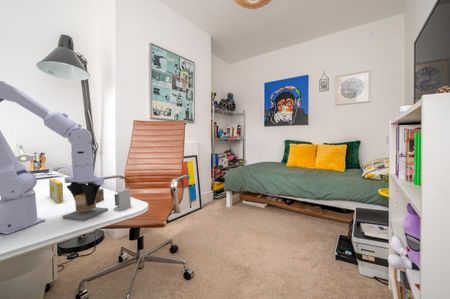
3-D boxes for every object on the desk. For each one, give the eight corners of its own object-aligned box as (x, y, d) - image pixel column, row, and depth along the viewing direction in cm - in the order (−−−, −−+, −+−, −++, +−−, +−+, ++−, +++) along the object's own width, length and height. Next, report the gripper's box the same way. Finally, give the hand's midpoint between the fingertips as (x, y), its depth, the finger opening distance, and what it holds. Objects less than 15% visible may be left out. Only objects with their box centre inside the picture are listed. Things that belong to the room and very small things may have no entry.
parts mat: (84, 220, 63) (84, 218, 63) (62, 218, 65) (62, 216, 65) (108, 210, 72) (107, 208, 72) (87, 208, 74) (87, 206, 74)
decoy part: (95, 203, 80) (94, 191, 79) (87, 202, 81) (86, 190, 80) (104, 200, 84) (103, 188, 83) (96, 199, 85) (95, 188, 84)
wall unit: (120, 211, 71) (119, 191, 70) (113, 210, 72) (112, 191, 71) (130, 206, 76) (129, 188, 75) (124, 205, 76) (123, 187, 76)
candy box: (64, 202, 82) (62, 182, 81) (57, 204, 80) (55, 183, 80) (55, 195, 92) (54, 177, 92) (49, 196, 91) (48, 178, 90)
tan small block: (85, 211, 66) (84, 196, 66) (75, 210, 67) (74, 195, 67) (96, 207, 70) (95, 193, 69) (87, 206, 71) (86, 192, 70)
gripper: (110, 163, 69) (112, 202, 70) (77, 162, 73) (80, 199, 74) (92, 166, 62) (94, 209, 63) (56, 165, 66) (60, 206, 67)
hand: (85, 204), depth 68 cm, fingers closed on tan small block, 4 cm apart
